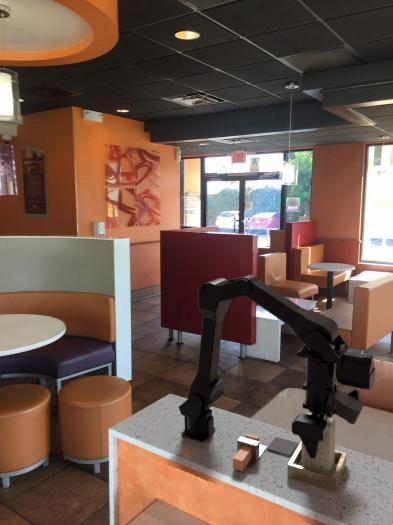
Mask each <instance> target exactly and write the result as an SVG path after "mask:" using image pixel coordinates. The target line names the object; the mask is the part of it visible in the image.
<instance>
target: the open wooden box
mask: <svg viewBox="0 0 393 525" xmlns="http://www.w3.org/2000/svg"><path fill="white" fill-rule="evenodd" d="M347 455H348V452H345V451H341V450H337V449H335V466H336V468H335V470H334V473H333V475H329V474H326V473H322V472H319V471H316V470H312V469H309V468H306V467H302V465H300V463H301V442H300V443H298V445H297V447H296V448H295V450H294V452H293V453H292V455H291V457H290V460H289V462H288V463H287V472H286V473H287V474H286V476H287V478H288V479H291V480H295V481H298V482H300V483H304V484H307V485H310V486H314V487H316V488H319V489H322V490H326V491H329V492H333V493H337V491H338V488H339V485H340V482H341V480H342V477H343V474H344V471H345V469H346V467H347V459H348V458H347Z"/></svg>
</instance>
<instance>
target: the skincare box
mask: <svg viewBox="0 0 393 525" xmlns="http://www.w3.org/2000/svg"><path fill="white" fill-rule="evenodd" d="M305 414H309V415H311V414H312V412H309V411H307V412H306V413H305ZM324 420H325V421H326V422H327V423H328V428H327V432H328V433H327V435H326V437H325V438H324V440H323V441H319V445H318V449H317V454H316V458H315V459H314V458H310V456H309V454H308V452H307V450H306V448H305V446H304V444H303V442H302V440H301V439H300V443H301V461H300V463H301V466H302V467H306V468H309V469H312V470H316V471H319V472H322V473H326V474H329V475H332V476H333V475H334V472H335V470H336V468H335V466H336V465H335V450H336V449H335V448H336V445H335V443H336V418H335V417H333V416H332V417H328V416H325V418H324Z"/></svg>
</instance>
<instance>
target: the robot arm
mask: <svg viewBox="0 0 393 525" xmlns="http://www.w3.org/2000/svg"><path fill="white" fill-rule="evenodd" d="M239 297H246V298H247V299H249V300H251V301H252V302H253V303H255V304H256V305H258V306H259V307H260V308H263V310H265V311H267V312H268V313H270V315H272V316H273V317H275V318H277V319H278V320H280V321H281V322H282V323H284V324H285V325H286V326H288V327H289V328H290V329H291V330H292V331H293V332H294V334H295V336H296V337H297V338H298V339H299V340H300V341H301V343H303V344H304V345H303V347H302V348H300V349H299V351H297V353H295V355H296V357H299V358H303V359H306V361H305V362H306V364H305V366H306V368H305V382H304V383H303V384H302V390H303V391H305V399H304V400H303V403H302V409H306V410H308V412H309V413H312V414H311V415H309V414H306V413H305V412H304V413H303V412H301V413H299V414H298V415H296V417H295V418H294V419H293V421H292V422H291V433H292V435H296V436H298V437H299V438H300V441H301V440H302V442H303V444H304V446H305V448H306V450H307V452H308V454H309V456H310V458H314V459H315V458H316V454H317V449H318V445H319V441H323V440H324V438H325V437H326V435H327V433H328V432H327V428H328V423H327V422H326V421H325V420H324V418H325V416H328V417H332V418H333V416H335V415H336V416H338V417H339V418H341V419H343V420H344V421H346V422H347V423H349V424H350V425H355V424H356V423H357V420H358V419H359V417H360V414H361V412H362V410H363V408H364V405H365V404H364V400H362V399H361V390H366V391H370V392H372V390H373V388H374V384H375V379H376V367H375V361H374V355H373V354H369V353H359V352H358V353H357V352H352V351H348V350H350V349H349V348H350V347H349V346H348V344H347V343H346V341H345V339H344V338H343V336H342V335H341V334H340V329H339V325H338V324H337V322H336V321H335V320H334V319H332V318H331V317H328V316H326V315H324V314H323V313H320V312H317V311H313V310H308V309H305V308H304V307H302V306H300V305H298V304H297V303H295V302H294V301H292V300H291V299H289V298H288V297H286V296H284V295H283V294H281V293H280V292H278V291H277V290H275V289H273V288H272V287H270V286H269V285H267V284H266V283H264V282H263V281H261V280H260V279H259V278H258V277H257V276H255V275H254V274H248V275H246V276H243V277H237V278H232V279H229V280H227V279H226V278H222V277H219V278H216V279H214V280H211V281H209V282H205V283H203V284H201V286H200V287H199V288H198V292H197V298H198V299H197V300H198V309H199V311H200V314H201V315H202V322H201V323H202V324H201V335H200V344H199V353H198V363H197V372H196V375H195V376H194V379H193V380H192V382H191V384H190V387H189V390H188V394H187V399H186V400H185V401H184V402H182V403H181V404H180V405H179V406H178V409H179V413H180V415H181V416H183V417H184V418H183V419H184V430H183V431H182V432H181V434H180V435H181V436H183V437H186V438H189V439H192V440H196V441H199V442H202V443H203V442H204V443H205V441H207V440H208V438H209V437H210V436H211V435H212V434H213V433H214V432H215V431H216V427H215V425H214V424H215V420H214V418H215V417H214V415H213V409H211V407H213V406H215V404H216V402H218V401H219V399H220V398H221V397H222V396H223V395H224V394H225V393H224V385H225V379H221V378H220V377H219V374H218V367H219V366H218V365H219V361H220V360H219V358H220V351H221V350H220V349H221V343H222V342H221V340H222V333H223V324H224V317H225V315H226V313H227V312H228V310H229V308H230V306H231V302H232V299H235V298H239ZM333 346H334V348H333ZM335 378H336V379H337V381H336V380H335ZM338 383H340V385H342V386H347V387H352V388H351V389H350V390H348V391H347V390H344V391H342V390H341V388H339V384H338ZM356 388H357V389H356ZM358 389H360V390H358Z"/></svg>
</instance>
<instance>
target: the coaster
mask: <svg viewBox="0 0 393 525" xmlns="http://www.w3.org/2000/svg"><path fill="white" fill-rule="evenodd" d="M298 446H299V443H298V442H296V441H292V440H288V439H286V438H282V437H278V436H275V437H274V438H273V439H272V441H271V442H270V443H269V445H268V446H267V448H266V451H270V452H272V453H275V454H279V455H282V456H287V457H289V458H292V456H293V454H294V453H295V451H296V449H297V448H298Z"/></svg>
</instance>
